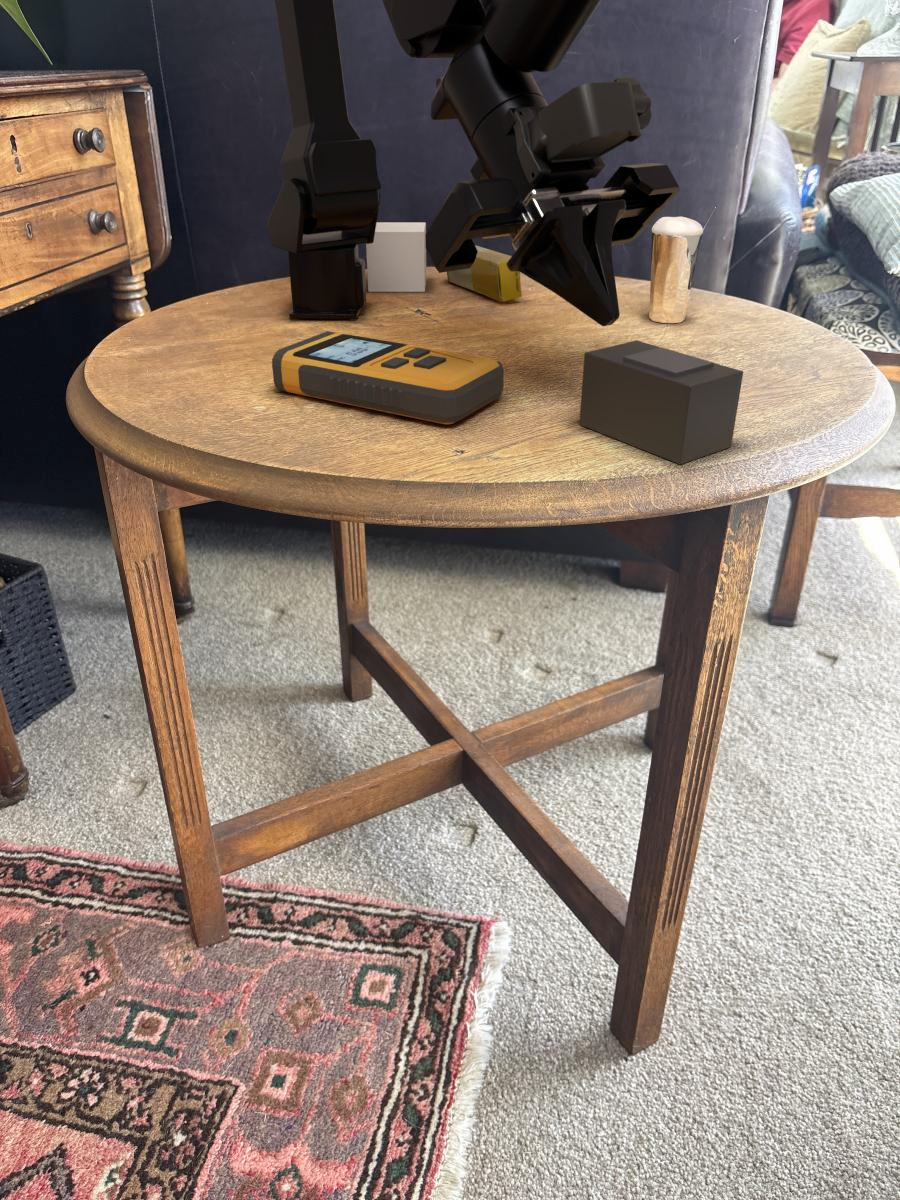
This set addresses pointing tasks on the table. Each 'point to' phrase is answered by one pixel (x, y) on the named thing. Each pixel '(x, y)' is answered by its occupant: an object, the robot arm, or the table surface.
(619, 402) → the block
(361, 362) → the electronic device
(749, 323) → the table surface
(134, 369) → the table surface
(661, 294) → the milkshake
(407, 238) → the white cube
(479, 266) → the medication box
